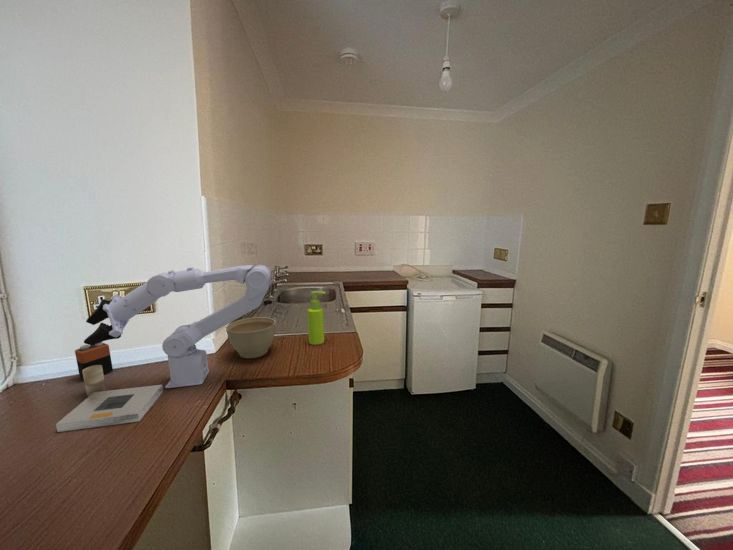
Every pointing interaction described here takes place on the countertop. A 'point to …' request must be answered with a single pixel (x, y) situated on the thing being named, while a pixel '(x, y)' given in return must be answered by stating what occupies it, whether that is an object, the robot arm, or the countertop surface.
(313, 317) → the soap dispenser
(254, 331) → the planter bowl
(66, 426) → the light grey flat block
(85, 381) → the barrel peg
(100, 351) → the battery
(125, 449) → the countertop surface
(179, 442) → the countertop surface
